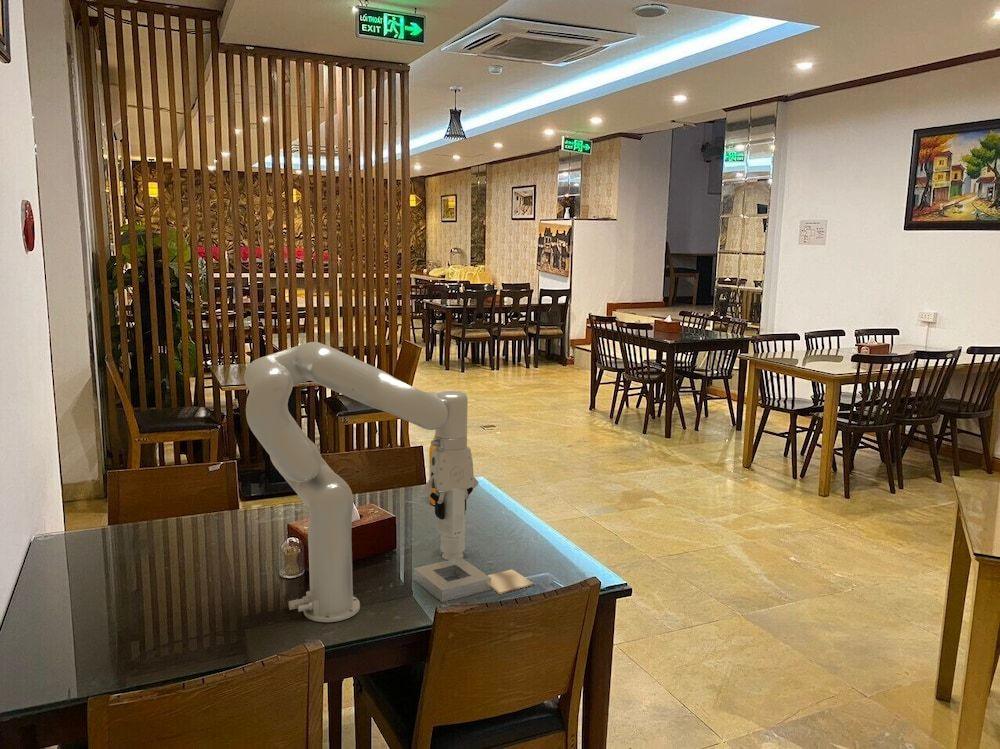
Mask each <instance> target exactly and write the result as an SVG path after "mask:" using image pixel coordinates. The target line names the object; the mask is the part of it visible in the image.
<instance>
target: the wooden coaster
mask: <svg viewBox="0 0 1000 749" xmlns="http://www.w3.org/2000/svg"><path fill="white" fill-rule="evenodd" d="M488 576H489V577H491V590H492V589H493V590H492V591H494V592H495V591H496V592H497V594H498V595H499V594H501V595H504V594H503V593H505V594H507V593H506V592H508V593H510V592H509V591H512V590H516V589H520V588H523V587H524V588H523V589H526V588H525V587H527V588H529V587H528V586H531V587H534V586H535V583H534V582H533V581H531V580H530V579H528V577H527V578H526V577H525V576H523V575H522V574H520V573H519V572H518V571H516V570H514V569H507V570H503V571H499V572H496V573H492V574H488ZM533 585H534V586H533ZM520 590H521V589H520ZM516 591H517V590H516ZM496 592H495V593H496ZM512 592H513V591H512Z"/></svg>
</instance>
